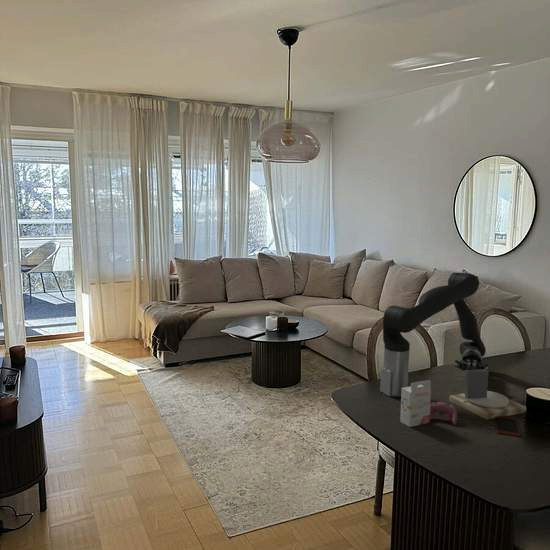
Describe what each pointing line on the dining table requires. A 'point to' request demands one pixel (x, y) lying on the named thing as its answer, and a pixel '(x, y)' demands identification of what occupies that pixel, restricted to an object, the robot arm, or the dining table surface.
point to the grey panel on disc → (482, 390)
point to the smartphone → (507, 426)
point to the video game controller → (444, 407)
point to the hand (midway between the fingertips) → (471, 371)
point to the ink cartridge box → (416, 403)
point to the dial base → (487, 411)
